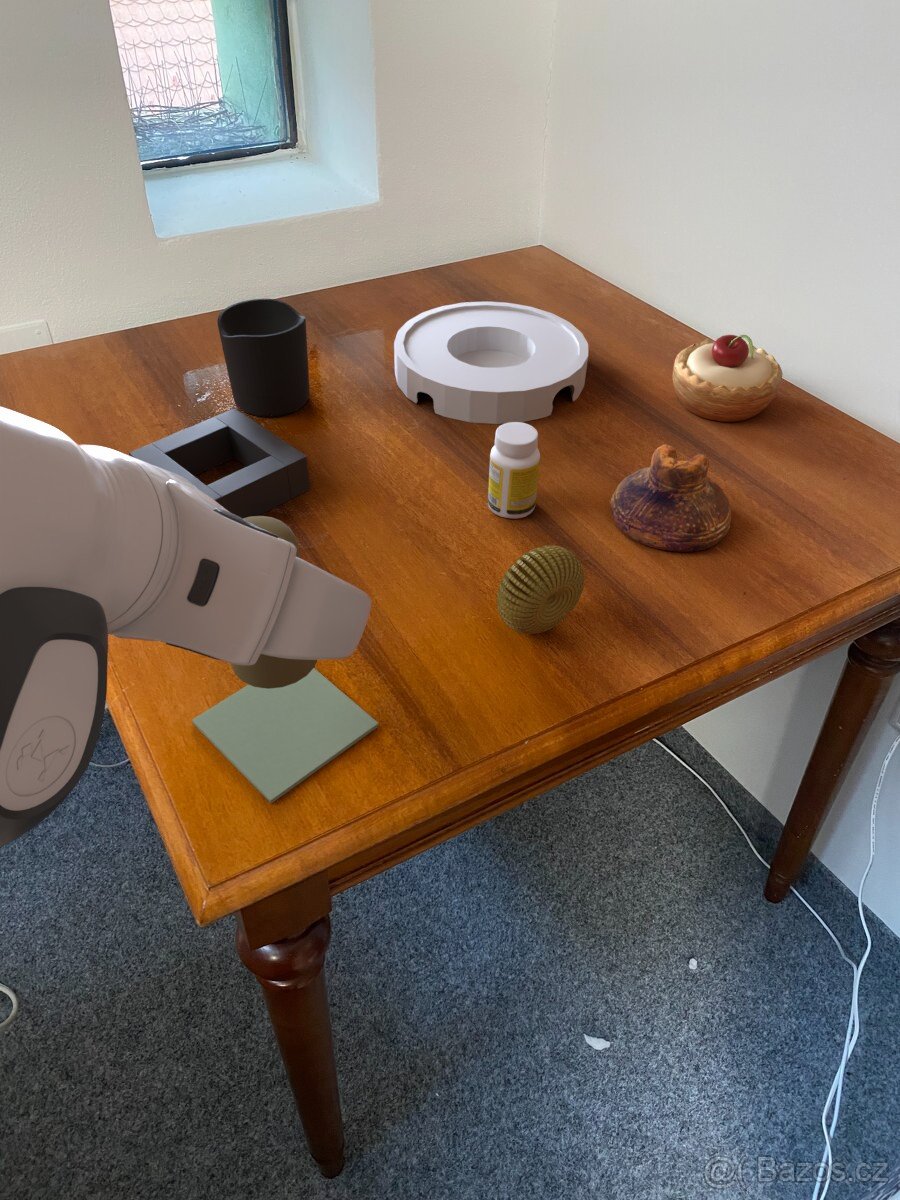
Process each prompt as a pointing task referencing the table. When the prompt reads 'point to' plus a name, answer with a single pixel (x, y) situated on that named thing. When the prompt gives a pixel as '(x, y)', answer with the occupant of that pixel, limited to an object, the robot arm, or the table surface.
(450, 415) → the ashtray
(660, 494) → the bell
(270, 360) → the pen holder
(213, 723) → the mat
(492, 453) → the supplement bottle
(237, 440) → the holder stand
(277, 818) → the table surface
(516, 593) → the sculpture
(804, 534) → the table surface
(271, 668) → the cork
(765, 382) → the pastry
